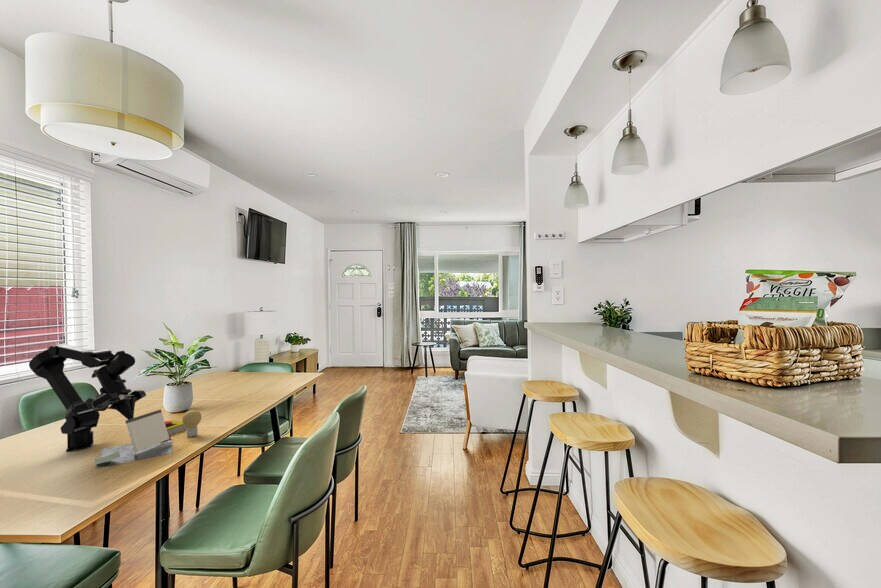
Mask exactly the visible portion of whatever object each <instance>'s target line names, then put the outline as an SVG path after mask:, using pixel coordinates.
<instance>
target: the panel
mask: <svg viewBox="0 0 881 588" xmlns="http://www.w3.org/2000/svg"><path fill="white" fill-rule="evenodd" d="M168 435H169V439H168V440H165V441H163V442H160V443H158V444H155V445H153V446H151V447H148V448H146V449H143V450H141V451H138V452H136V453H135V451H134V448H133V444H132V442H131V443H126V444H121V445H116V446H108V447H104V448H101V450H100V453H99V455H98V457H101V456H103V455H106V454H109V453H113V452H118V451H119V454H120V457H118V458H115V459H113V460H111V461H108V462H104V463H100V464H95V468H94V469H101V468H105V467H106V468H107V467H111V466H116V465H120V464H121V465H122V464H126V463H131V462H136V461H141V460H147V459H152V458H156V457H162V456H166V455H171V454H173V448H172V445H173V440H172V438H171V436H172V435H171V434H170V433H168Z"/></svg>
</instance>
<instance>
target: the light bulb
mask: <svg viewBox="0 0 881 588" xmlns="http://www.w3.org/2000/svg"><path fill="white" fill-rule="evenodd" d="M201 420H202V413H201V412H200V411H199V410H198V409H197V410H196V409H190V410H188V411H186V412H184V414H183V415H182V417H181V421H182V422H183V424H184V425H185V426H186V427H187V429H186V432H185V433H186V436H187V437H189V438H192V436H193V437H196V436H197V435H198V434H199V432H198V425H199V424H200V423H201ZM195 435H196V436H195Z"/></svg>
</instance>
